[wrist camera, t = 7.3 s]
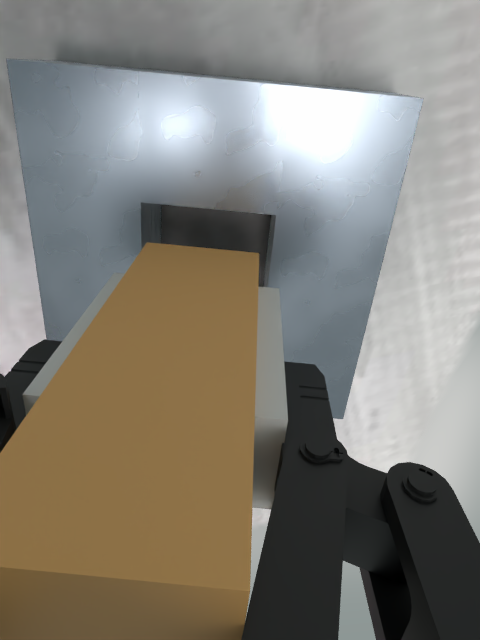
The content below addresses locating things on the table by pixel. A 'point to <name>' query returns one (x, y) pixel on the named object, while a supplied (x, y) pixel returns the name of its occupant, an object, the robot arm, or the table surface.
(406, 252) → the table surface
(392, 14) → the table surface
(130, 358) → the tan rectangular prism
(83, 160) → the gray square socket block
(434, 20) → the table surface
